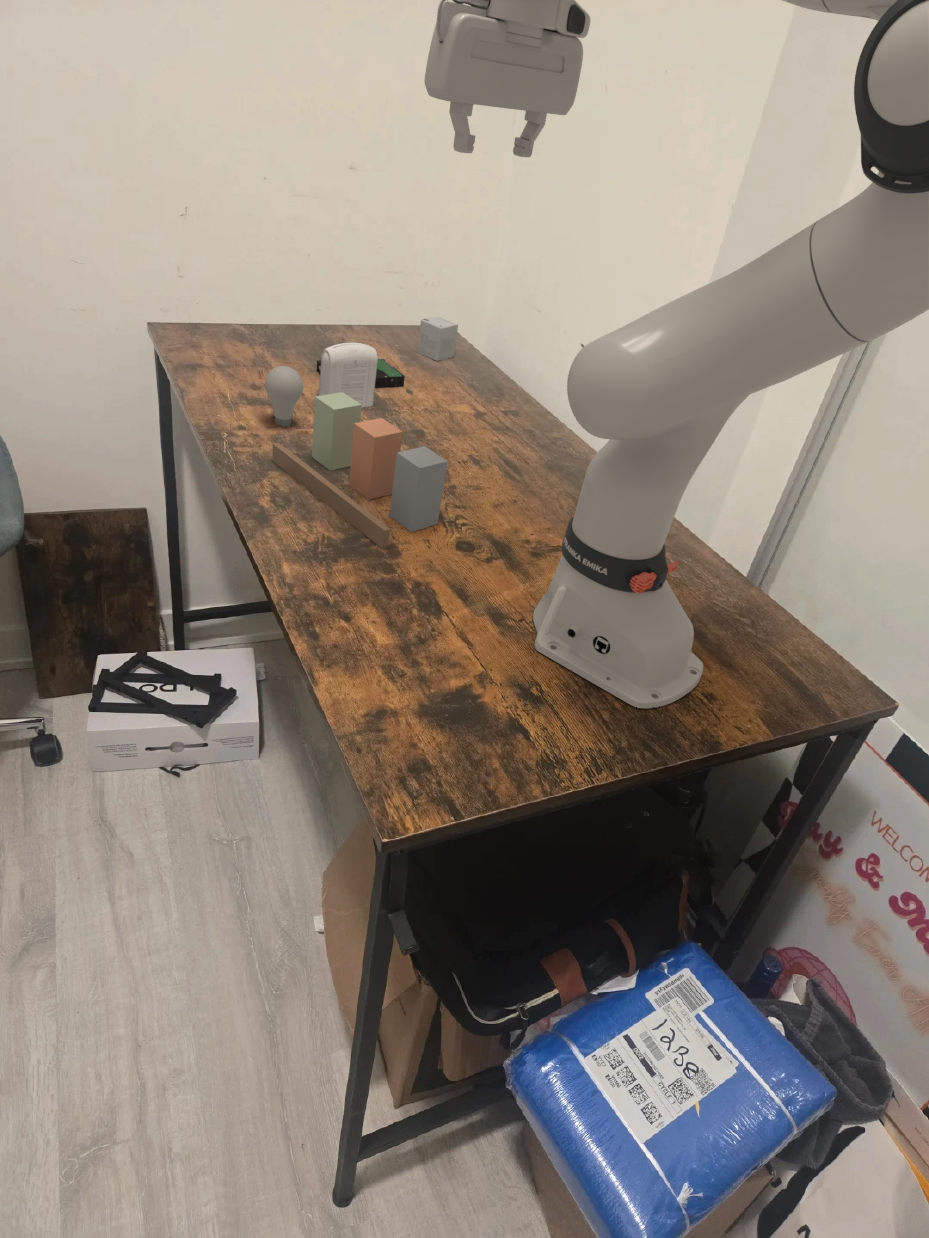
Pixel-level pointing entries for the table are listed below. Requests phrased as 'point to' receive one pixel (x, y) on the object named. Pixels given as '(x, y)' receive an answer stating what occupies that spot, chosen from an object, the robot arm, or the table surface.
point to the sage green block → (334, 429)
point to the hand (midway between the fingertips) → (493, 154)
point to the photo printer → (349, 371)
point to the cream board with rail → (332, 496)
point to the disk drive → (382, 375)
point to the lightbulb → (283, 392)
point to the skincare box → (437, 338)
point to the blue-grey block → (417, 488)
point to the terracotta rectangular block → (374, 457)
